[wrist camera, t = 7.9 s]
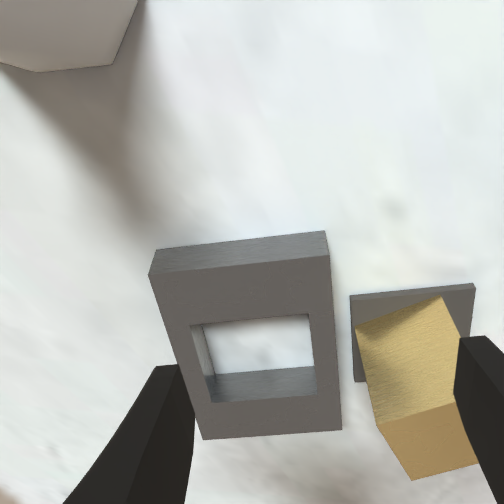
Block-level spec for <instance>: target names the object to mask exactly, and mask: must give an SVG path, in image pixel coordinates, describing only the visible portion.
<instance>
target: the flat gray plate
mask: <svg viewBox="0 0 504 504" xmlns="http://www.w3.org/2000/svg"><path fill="white" fill-rule="evenodd" d="M475 292H476V287H475V286H474V284H473V283H469V284H460V285H450V286H440V287H430V288H420V289H410V290H400V291H390V292H380V293H370V294H360V295H351V296H350V311H351V332H352V353H353V373H354V381H355V382H364V381H366V376H365V372H364V367H363V363H362V358H361V354H360V350H359V345H358V341H357V336H356V332H355V327H354V326H356V325H359V324H362V323H364V322H367V321H370V320H372V319H375V318H378V317H381V316H383V315H386V314H389V313H391V312H394V311H397V310H400V309H402V308H405V307H408V306H410V305H413V304H416V303H419V302H421V301H424V300H427V299H429V298H432V297H435V296H438V295H441V297H442V299H443V301H444V303H445V305H446V307H447V309H448V312H449V314H450V316H451V318H452V320H453V322H454V324H455V326H456V328H457V330H458V332H459V335H460V337H461V338H463V337H469V336H470V329H471V321H472V314H473V306H474V299H475Z"/></svg>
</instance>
